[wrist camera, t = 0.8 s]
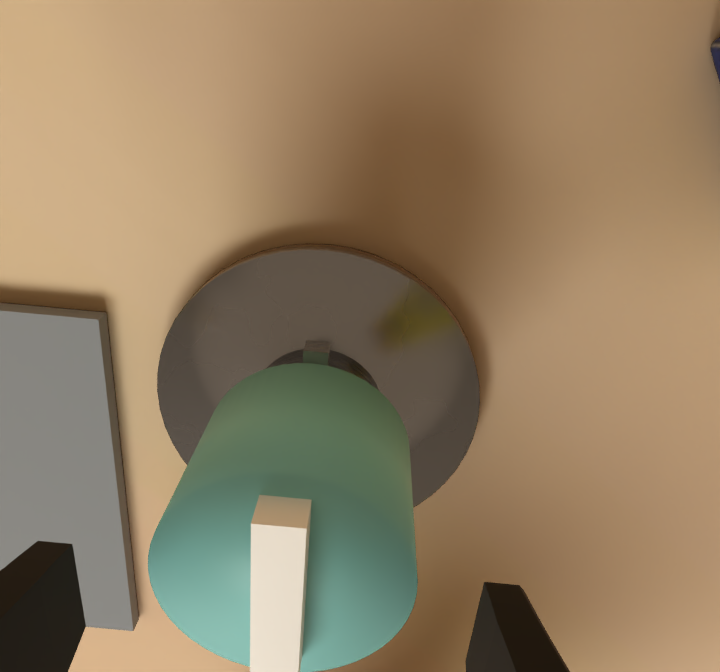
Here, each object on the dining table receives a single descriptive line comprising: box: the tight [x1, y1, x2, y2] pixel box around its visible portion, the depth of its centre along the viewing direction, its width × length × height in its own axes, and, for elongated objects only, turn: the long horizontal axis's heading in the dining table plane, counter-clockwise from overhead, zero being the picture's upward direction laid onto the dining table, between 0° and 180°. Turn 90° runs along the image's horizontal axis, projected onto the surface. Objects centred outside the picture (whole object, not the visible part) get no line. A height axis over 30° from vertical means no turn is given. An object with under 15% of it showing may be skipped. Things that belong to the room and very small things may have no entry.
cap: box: [148, 363, 418, 672], centre depth 13 cm, size 5×5×5 cm
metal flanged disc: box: [157, 244, 480, 507], centre depth 16 cm, size 9×9×3 cm
